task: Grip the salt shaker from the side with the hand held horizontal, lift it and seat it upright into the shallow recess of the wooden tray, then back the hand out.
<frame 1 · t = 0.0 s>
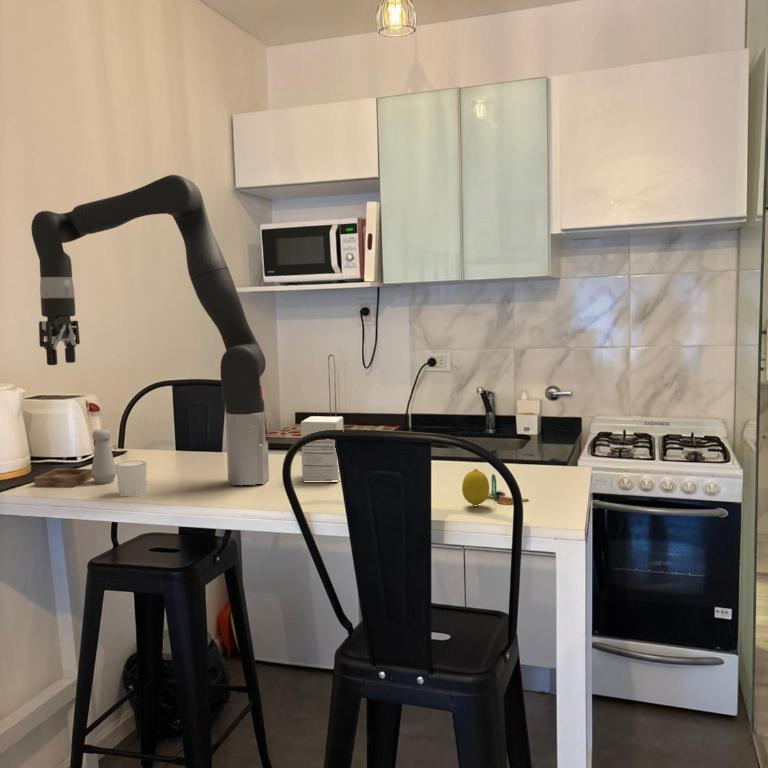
hand: (61, 363, 177), 29 cm above the worktop, tool pointing down, fingers open, 8 cm apart
shot glass: (132, 494, 168), on the worktop
lemon: (475, 507, 151), on the worktop
supplement box: (323, 479, 179), on the worktop
salt shaker: (104, 482, 180), on the worktop
wooden tray: (65, 481, 180), on the worktop
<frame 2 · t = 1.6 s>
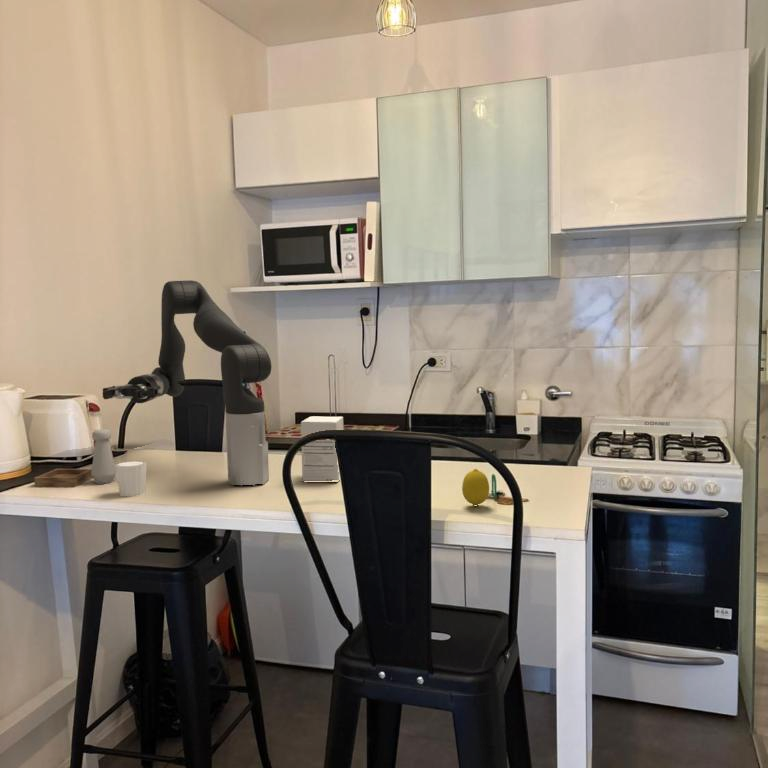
hand: (120, 395, 189), 20 cm above the worktop, tool horizontal, fingers open, 8 cm apart
nothing on the worktop moved.
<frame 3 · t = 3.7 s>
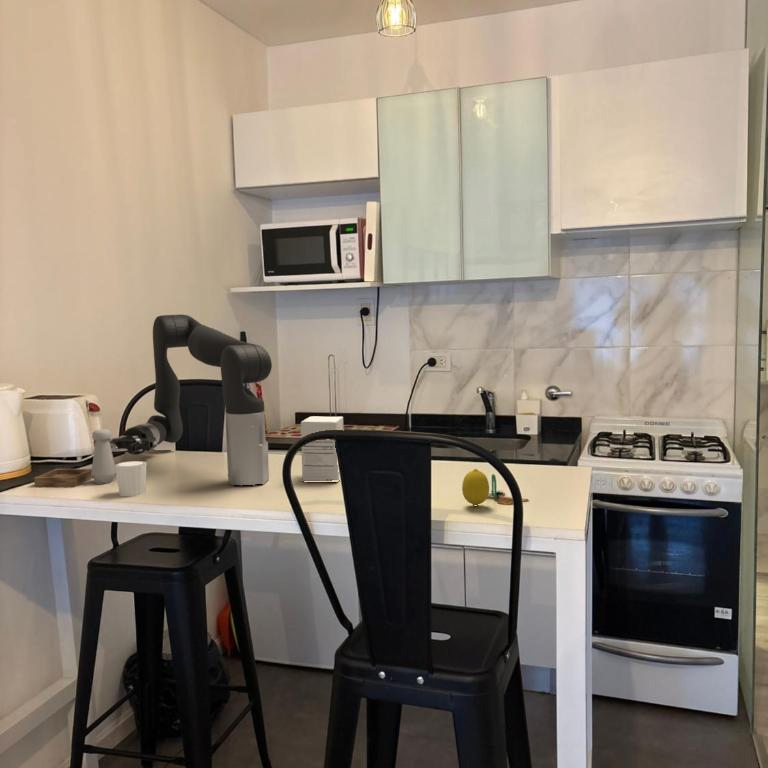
hand: (114, 449, 185), 7 cm above the worktop, tool horizontal, fingers open, 8 cm apart
nothing on the worktop moved.
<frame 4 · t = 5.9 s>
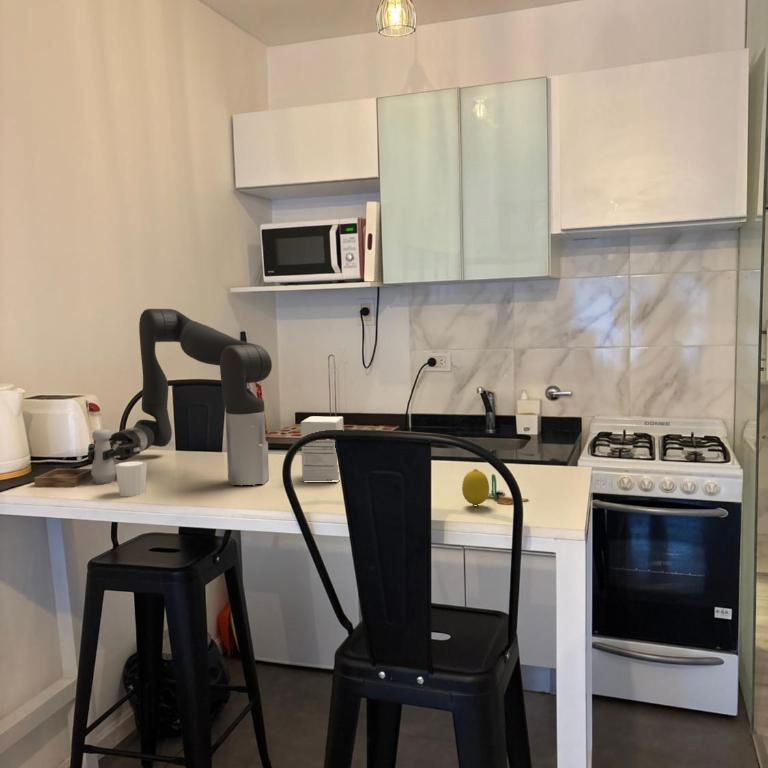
hand: (97, 456, 176), 7 cm above the worktop, tool horizontal, fingers closed on salt shaker, 3 cm apart
salt shaker: (104, 482, 180), on the worktop, touching gripper
everything else where it was.
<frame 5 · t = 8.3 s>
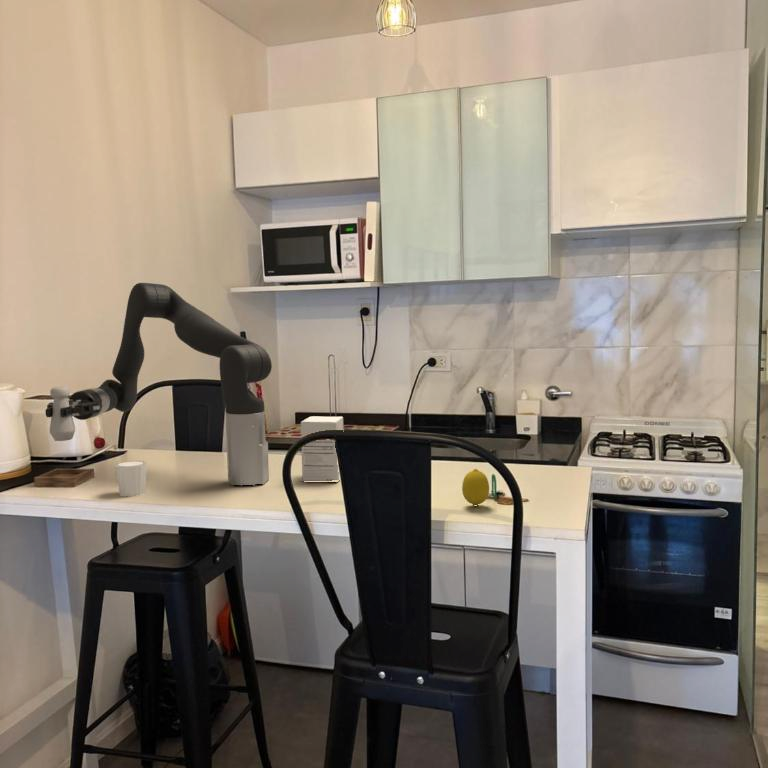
hand: (54, 413, 176), 18 cm above the worktop, tool horizontal, fingers closed on salt shaker, 3 cm apart
salt shaker: (63, 440, 180), point 10 cm above the worktop, touching gripper
everything else where it was.
when the fingers open (9 cm above the worktop, at t = 10.5 s): salt shaker stays where it is, resting on wooden tray.
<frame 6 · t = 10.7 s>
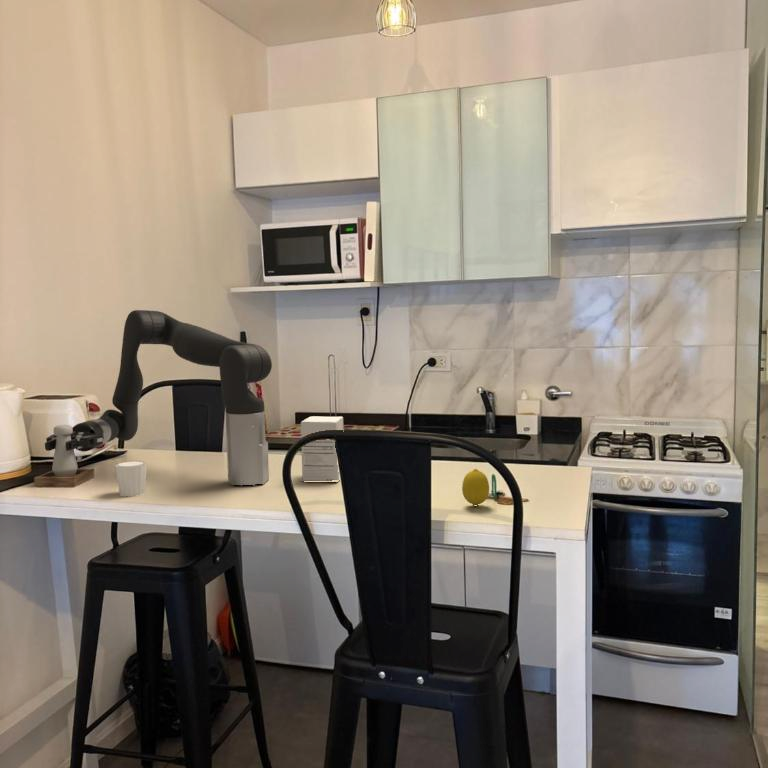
hand: (57, 446, 177), 9 cm above the worktop, tool horizontal, fingers open, 4 cm apart
salt shaker: (65, 478, 180), point 1 cm above the worktop, touching wooden tray
everything else where it was.
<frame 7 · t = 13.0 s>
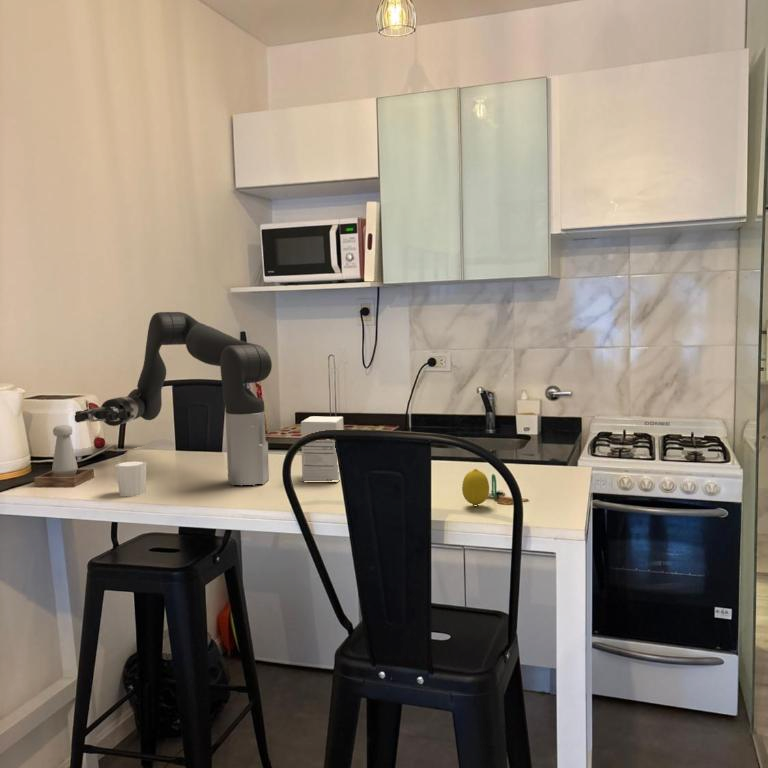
hand: (92, 418, 190), 14 cm above the worktop, tool horizontal, fingers open, 8 cm apart
nothing on the worktop moved.
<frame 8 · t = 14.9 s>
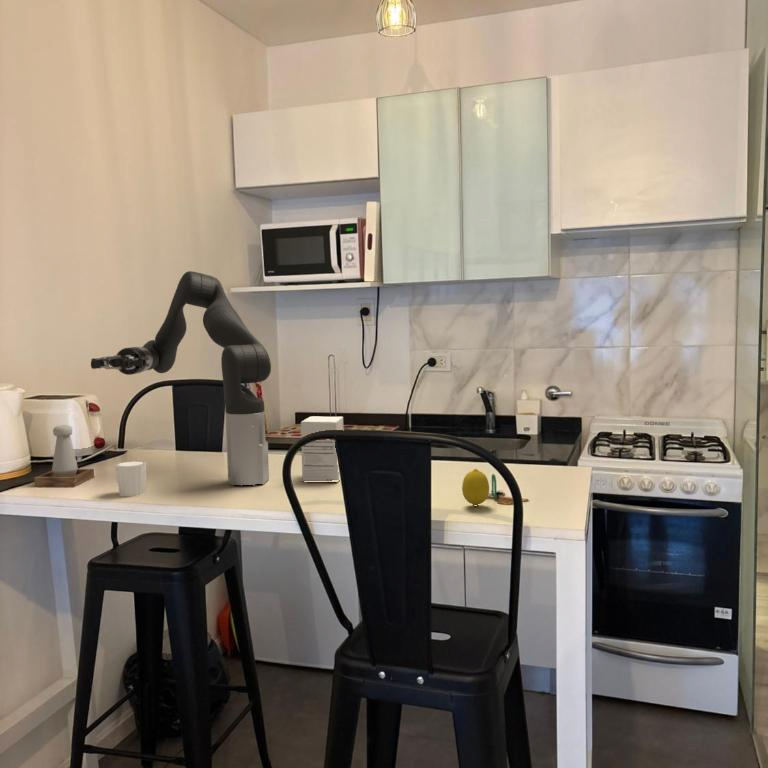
hand: (108, 364, 191), 28 cm above the worktop, tool horizontal, fingers open, 8 cm apart
nothing on the worktop moved.
at the end: salt shaker 0.1 cm off-centre on the wooden tray, point 0.8 cm above the wooden tray's base; salt shaker tilted 0°; the gripper is holding nothing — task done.
